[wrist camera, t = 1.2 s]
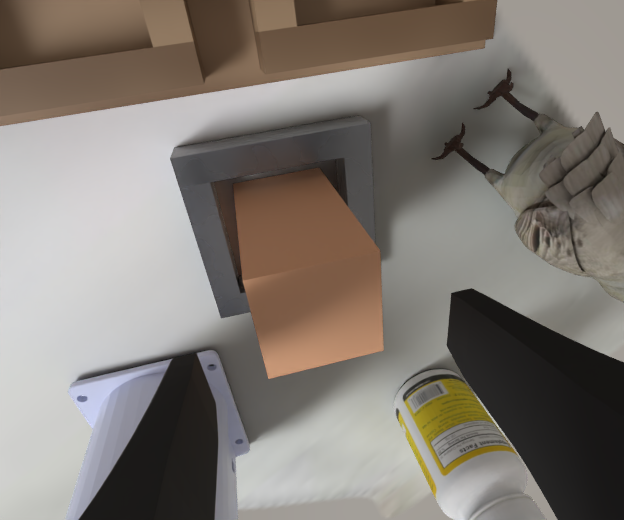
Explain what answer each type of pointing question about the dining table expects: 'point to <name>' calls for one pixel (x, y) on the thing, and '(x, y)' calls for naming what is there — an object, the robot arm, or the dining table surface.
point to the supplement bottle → (462, 450)
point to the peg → (307, 272)
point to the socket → (262, 158)
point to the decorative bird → (564, 194)
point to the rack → (208, 46)
